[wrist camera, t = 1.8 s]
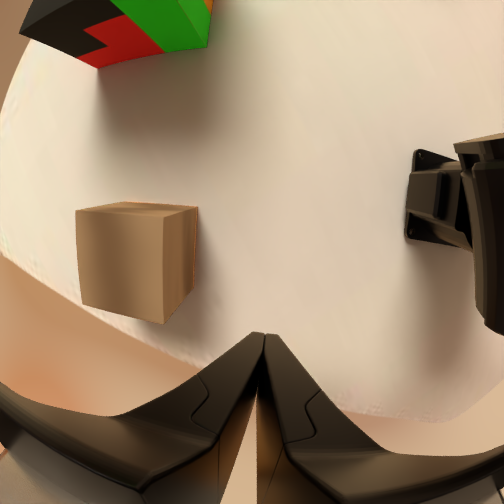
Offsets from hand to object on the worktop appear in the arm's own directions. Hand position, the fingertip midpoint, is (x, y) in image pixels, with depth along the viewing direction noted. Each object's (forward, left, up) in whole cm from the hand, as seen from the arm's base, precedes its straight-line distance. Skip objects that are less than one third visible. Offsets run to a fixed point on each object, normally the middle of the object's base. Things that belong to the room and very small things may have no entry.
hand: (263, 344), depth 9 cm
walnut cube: (+9, 0, -11) cm, 14 cm away
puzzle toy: (+12, -20, -11) cm, 26 cm away
